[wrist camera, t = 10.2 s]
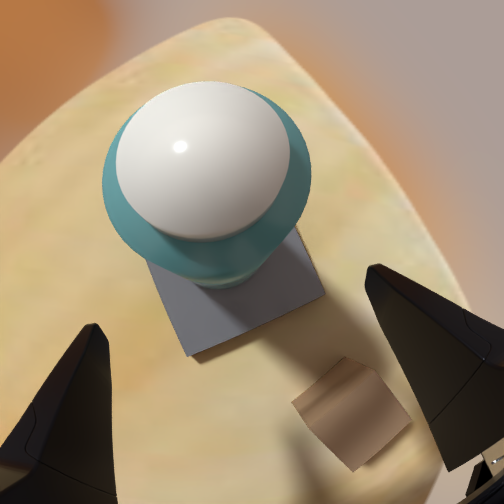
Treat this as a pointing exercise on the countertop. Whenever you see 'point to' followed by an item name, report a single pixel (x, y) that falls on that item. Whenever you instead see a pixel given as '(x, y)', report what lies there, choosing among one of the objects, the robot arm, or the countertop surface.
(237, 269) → the spice jar
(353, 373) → the walnut block
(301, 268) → the slate coaster
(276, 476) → the countertop surface
